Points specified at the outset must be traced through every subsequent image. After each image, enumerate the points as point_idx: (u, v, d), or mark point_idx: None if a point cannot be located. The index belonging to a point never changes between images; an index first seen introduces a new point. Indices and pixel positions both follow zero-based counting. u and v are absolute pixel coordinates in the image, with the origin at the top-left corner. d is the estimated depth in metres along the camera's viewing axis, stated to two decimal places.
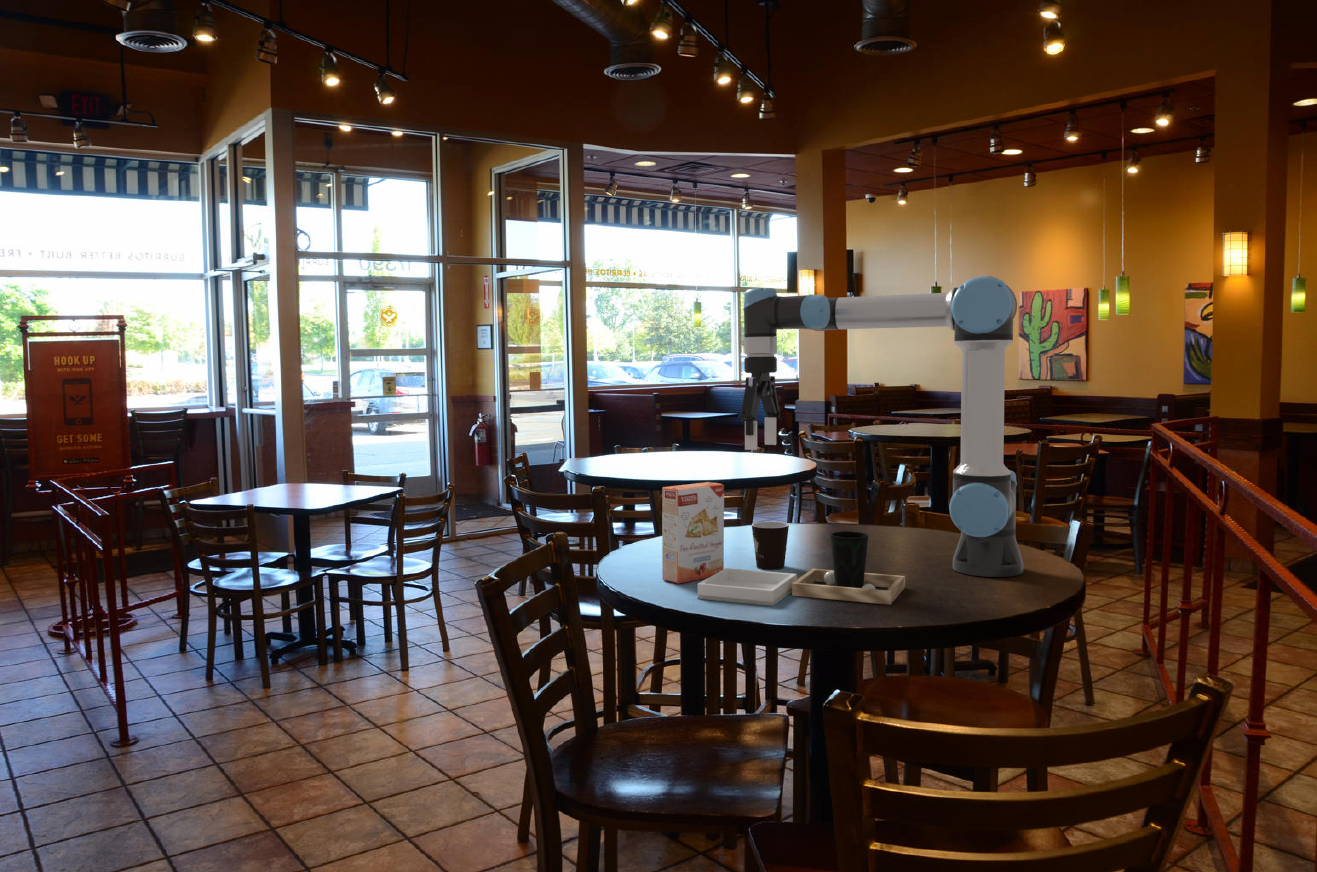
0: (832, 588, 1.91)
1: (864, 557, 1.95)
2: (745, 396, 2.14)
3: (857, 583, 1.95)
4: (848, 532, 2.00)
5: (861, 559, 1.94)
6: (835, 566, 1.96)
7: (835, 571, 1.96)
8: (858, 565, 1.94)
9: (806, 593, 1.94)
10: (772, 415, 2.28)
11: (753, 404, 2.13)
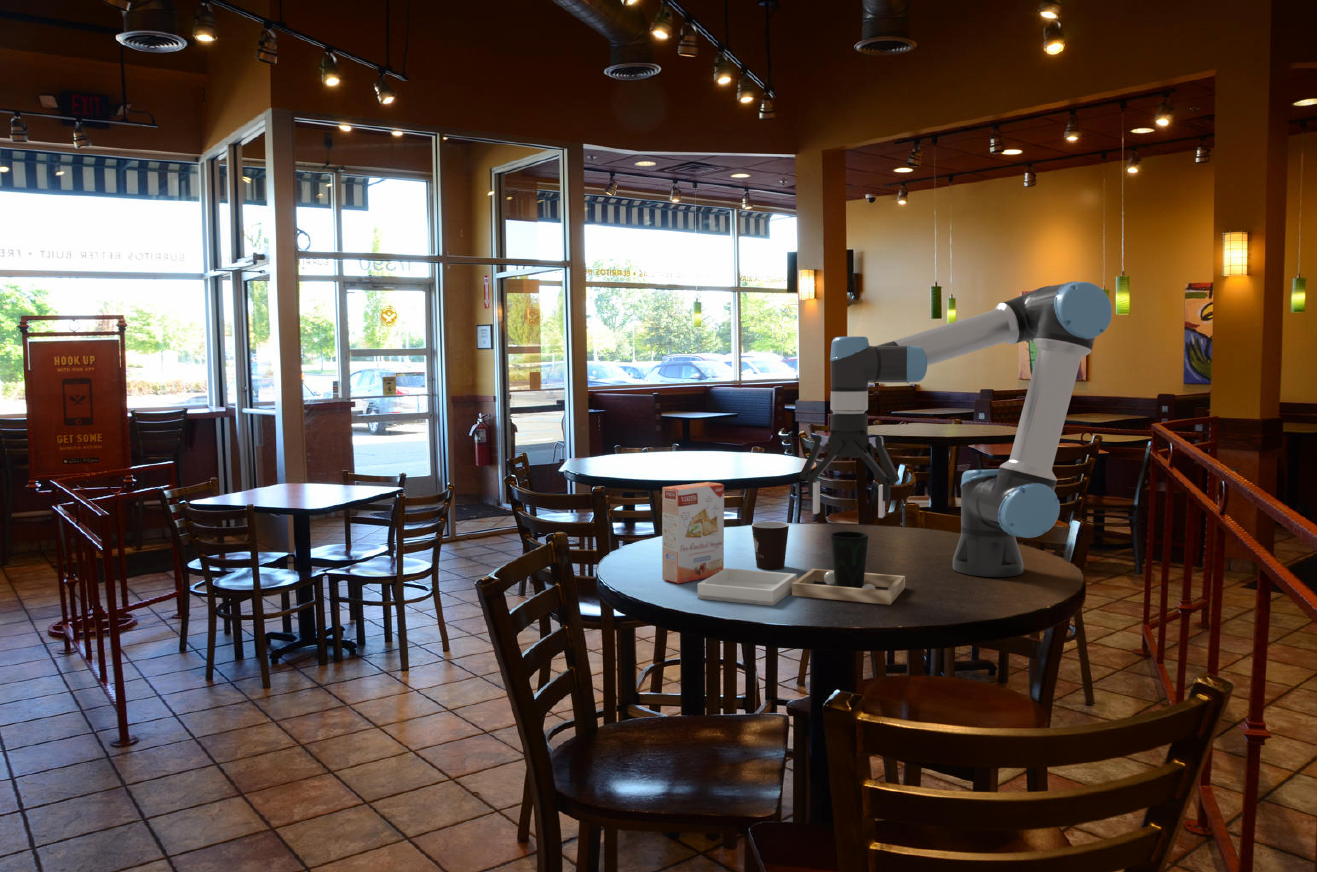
0: (832, 588, 1.91)
1: (864, 557, 1.95)
2: None
3: (857, 583, 1.95)
4: (848, 532, 2.00)
5: (861, 559, 1.94)
6: (835, 566, 1.96)
7: (835, 571, 1.96)
8: (858, 565, 1.94)
9: (806, 593, 1.94)
10: None
11: (806, 463, 1.98)
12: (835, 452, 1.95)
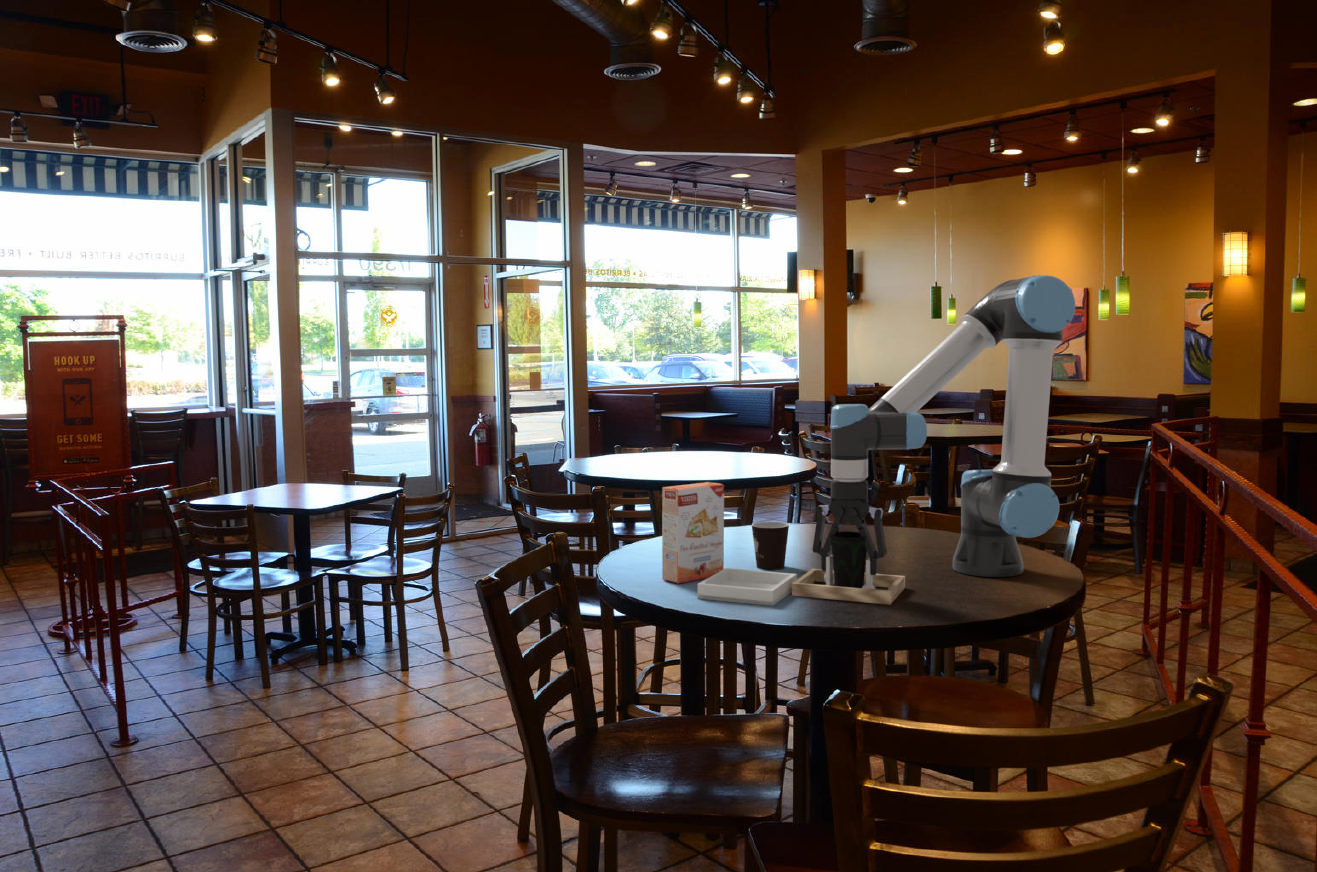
0: (832, 588, 1.91)
1: (864, 557, 1.95)
2: None
3: (857, 583, 1.95)
4: (848, 532, 2.00)
5: (861, 559, 1.94)
6: (835, 566, 1.96)
7: (835, 571, 1.96)
8: (858, 565, 1.94)
9: (806, 593, 1.94)
10: None
11: (815, 537, 1.98)
12: (838, 520, 1.96)
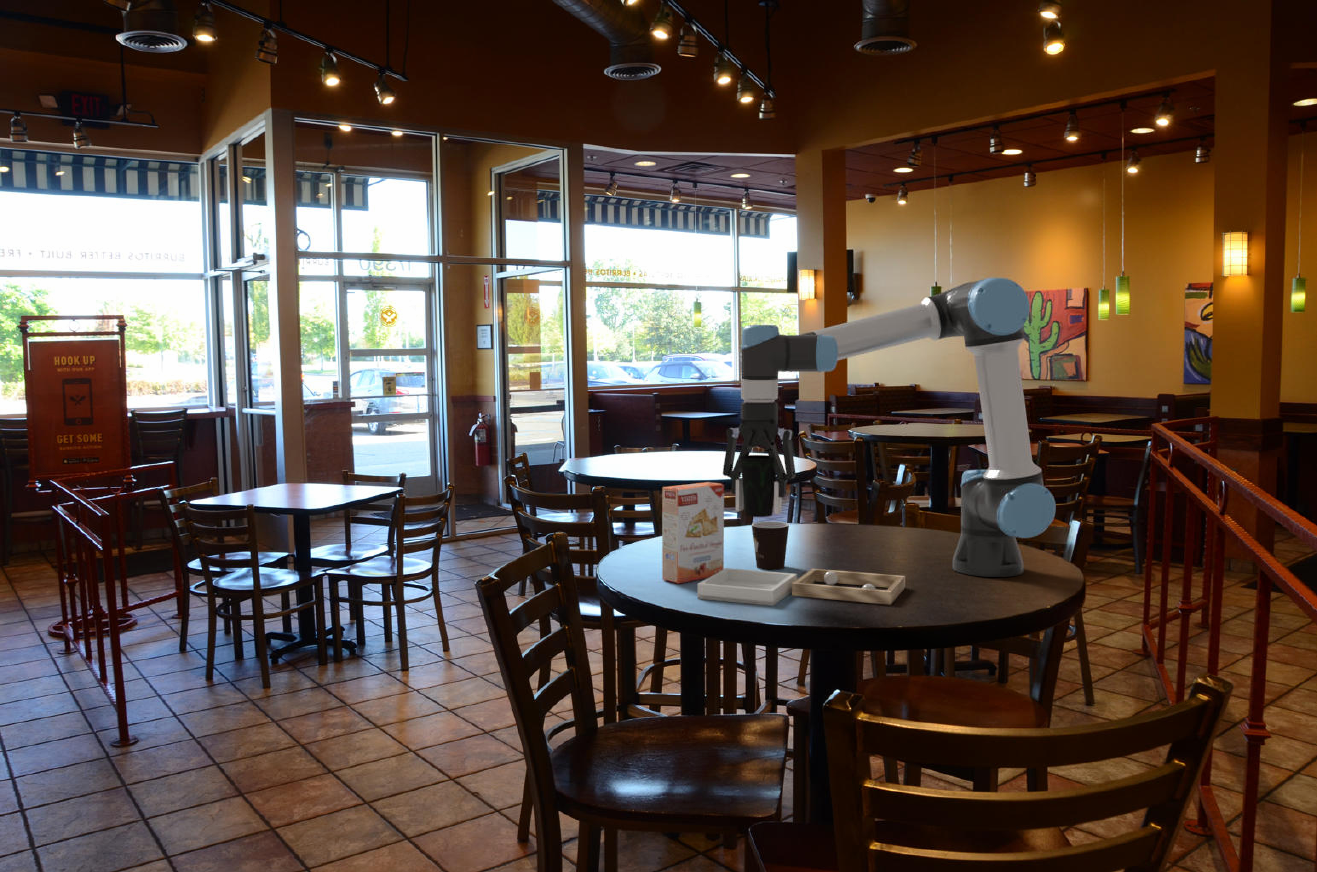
0: (832, 588, 1.91)
1: (773, 479, 1.93)
2: None
3: (765, 505, 1.93)
4: (759, 456, 1.99)
5: (770, 481, 1.93)
6: (744, 488, 1.94)
7: (744, 493, 1.95)
8: (766, 487, 1.93)
9: (806, 593, 1.94)
10: None
11: (725, 459, 1.97)
12: (748, 442, 1.94)
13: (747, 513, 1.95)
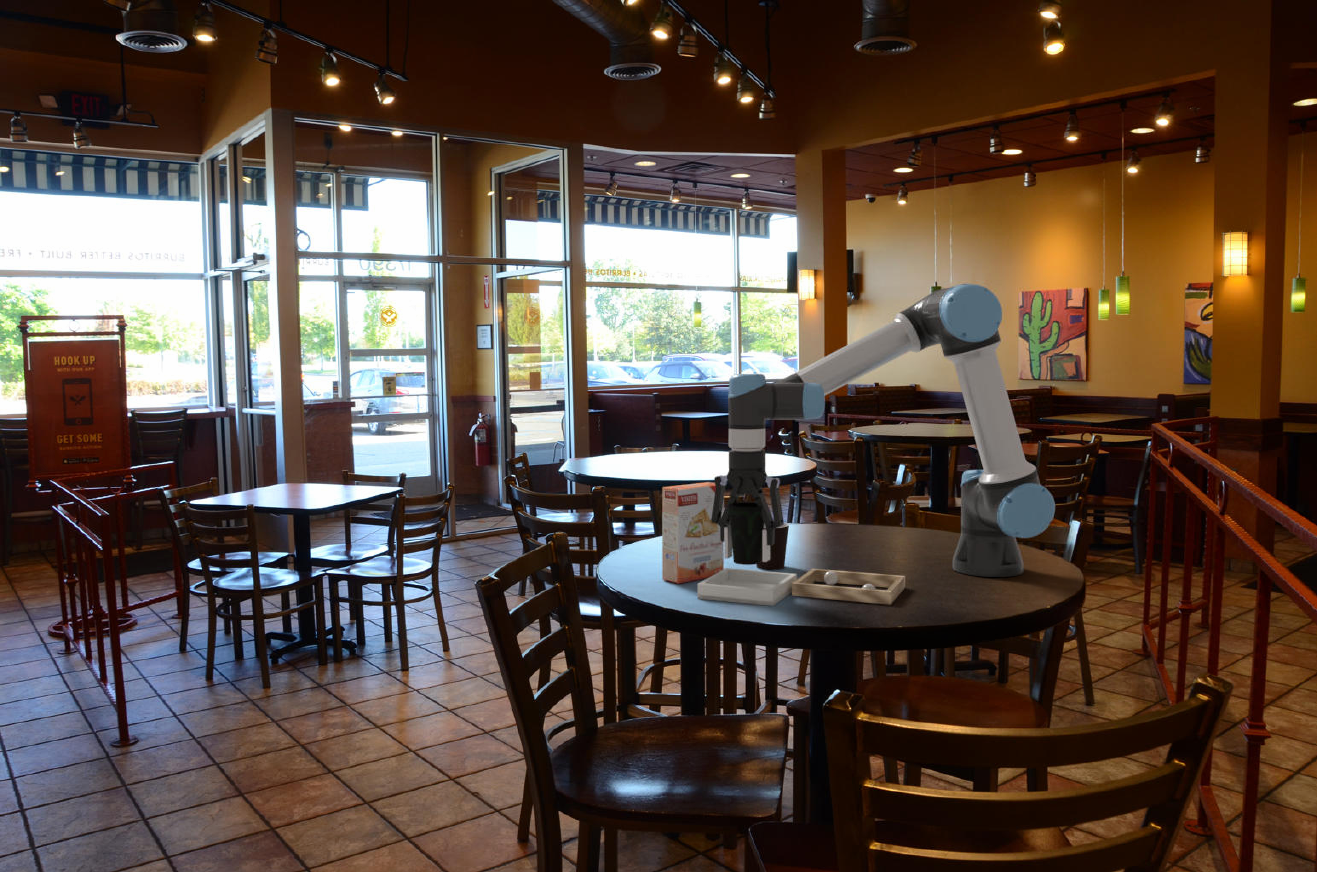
0: (832, 588, 1.91)
1: (761, 527, 1.94)
2: None
3: (753, 553, 1.94)
4: (748, 503, 1.99)
5: (758, 529, 1.94)
6: (732, 536, 1.95)
7: (732, 541, 1.96)
8: (754, 535, 1.93)
9: (806, 593, 1.94)
10: None
11: (714, 507, 1.98)
12: (736, 490, 1.95)
13: (735, 561, 1.95)
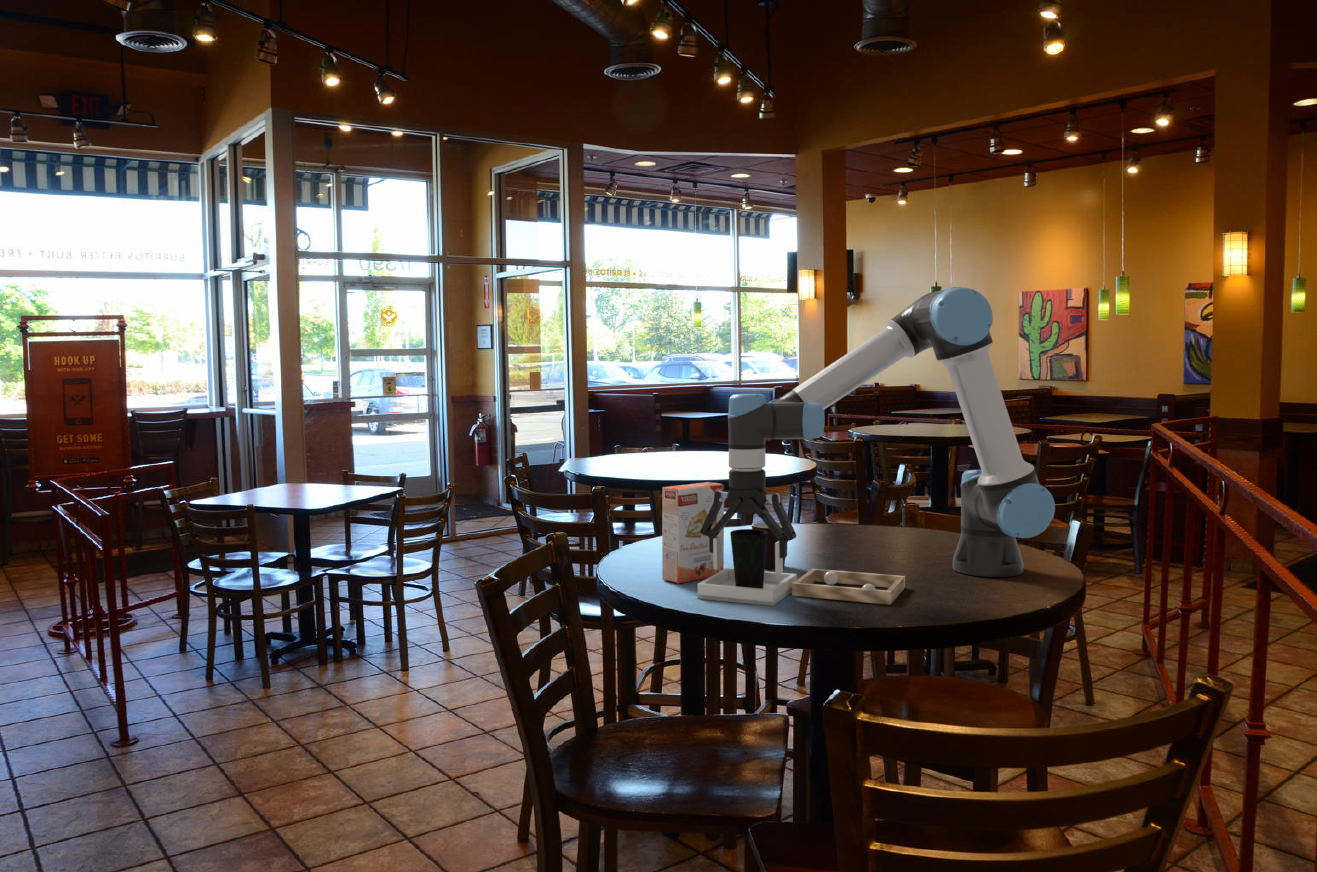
0: (832, 588, 1.91)
1: (763, 555, 1.95)
2: None
3: (756, 581, 1.94)
4: (749, 530, 2.00)
5: (760, 557, 1.94)
6: (734, 564, 1.96)
7: (734, 568, 1.96)
8: (757, 563, 1.94)
9: (806, 593, 1.94)
10: None
11: (706, 519, 1.99)
12: (733, 509, 1.96)
13: None
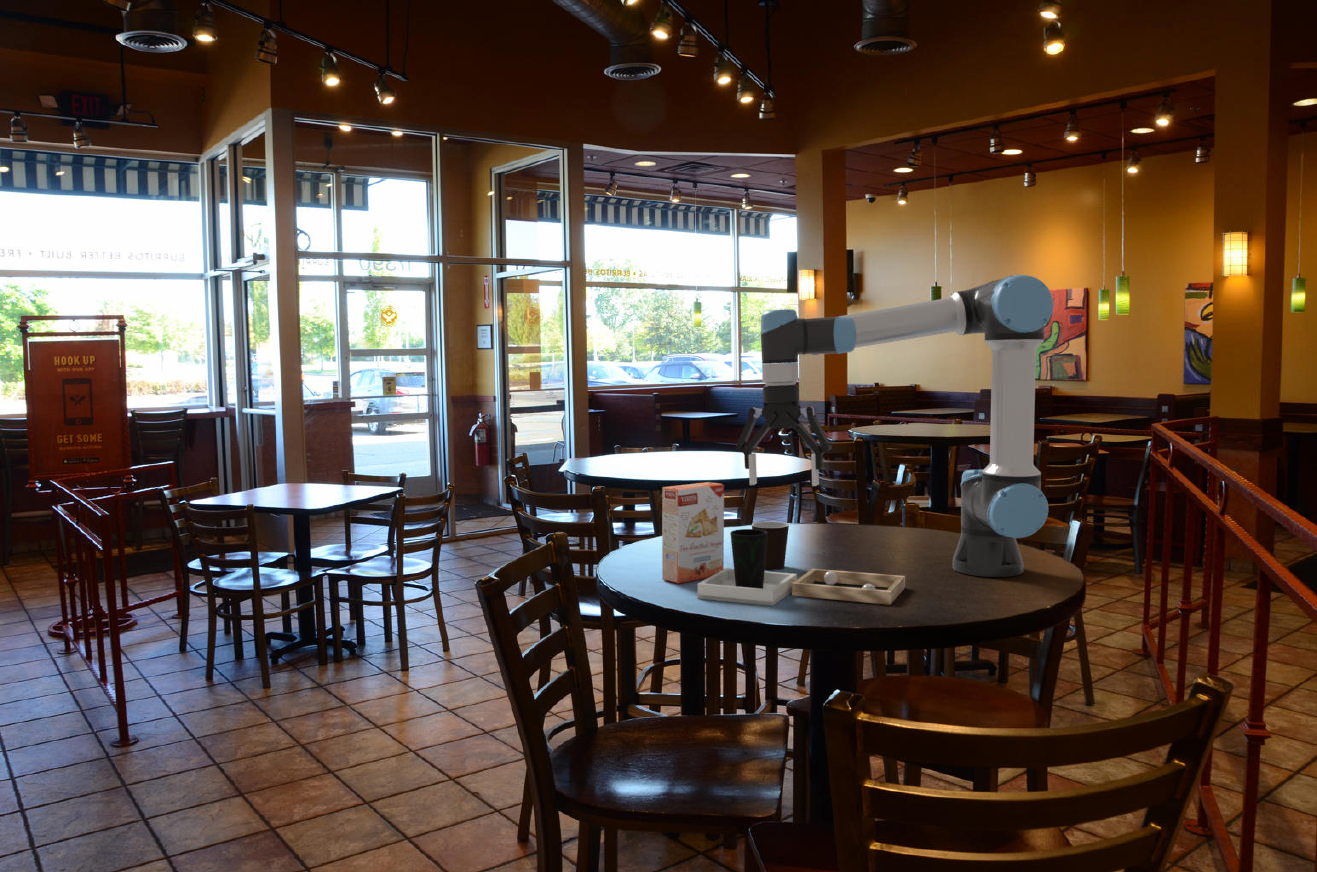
0: (832, 588, 1.91)
1: (763, 555, 1.95)
2: None
3: (756, 581, 1.94)
4: (749, 530, 2.00)
5: (760, 557, 1.94)
6: (735, 564, 1.96)
7: (734, 568, 1.96)
8: (757, 563, 1.94)
9: (806, 593, 1.94)
10: None
11: (741, 436, 2.02)
12: (768, 424, 1.99)
13: None
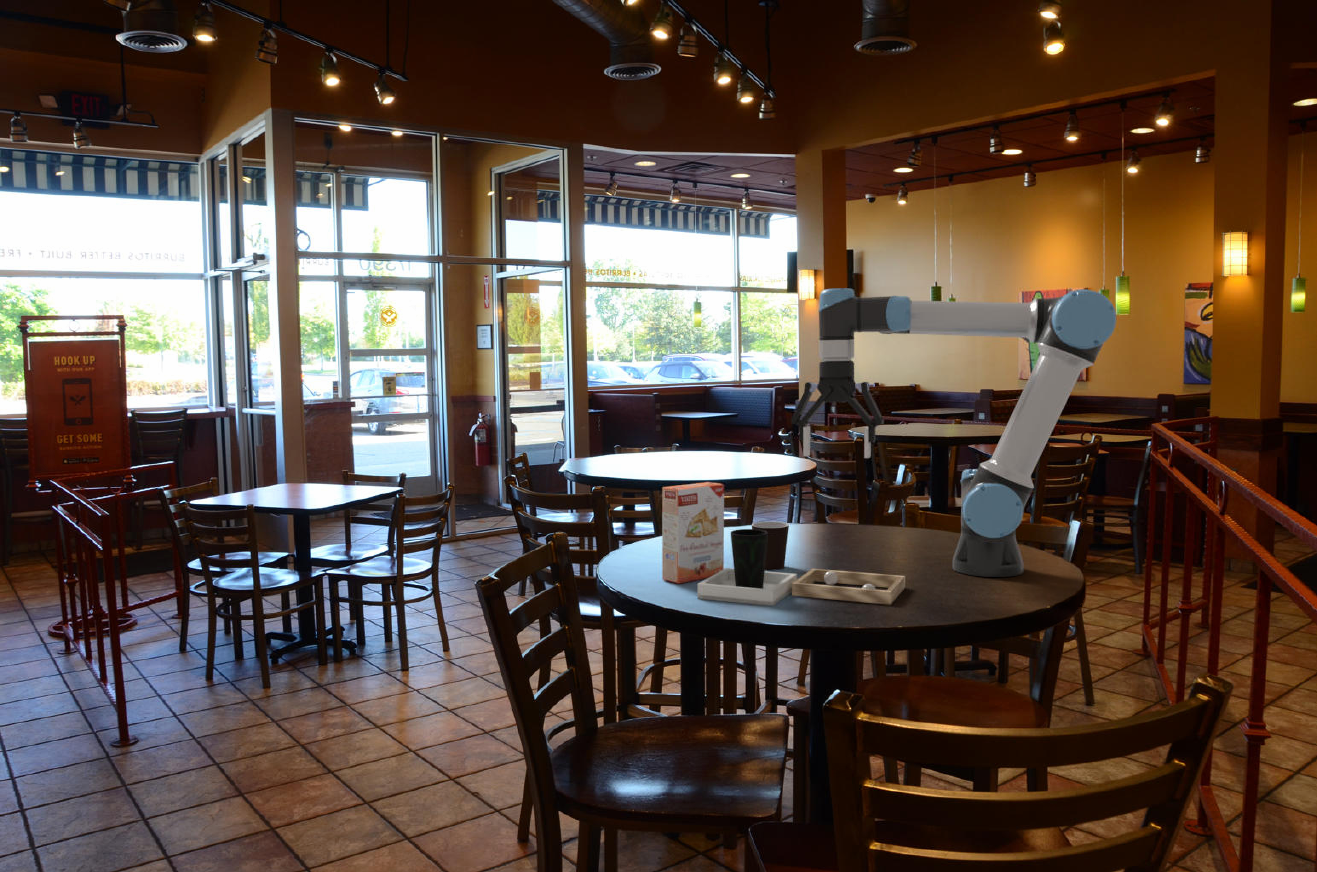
0: (832, 588, 1.91)
1: (763, 555, 1.95)
2: None
3: (756, 581, 1.94)
4: (749, 530, 2.00)
5: (760, 557, 1.94)
6: (735, 564, 1.96)
7: (734, 568, 1.96)
8: (757, 563, 1.94)
9: (806, 593, 1.94)
10: None
11: (797, 409, 2.11)
12: (824, 397, 2.08)
13: None
